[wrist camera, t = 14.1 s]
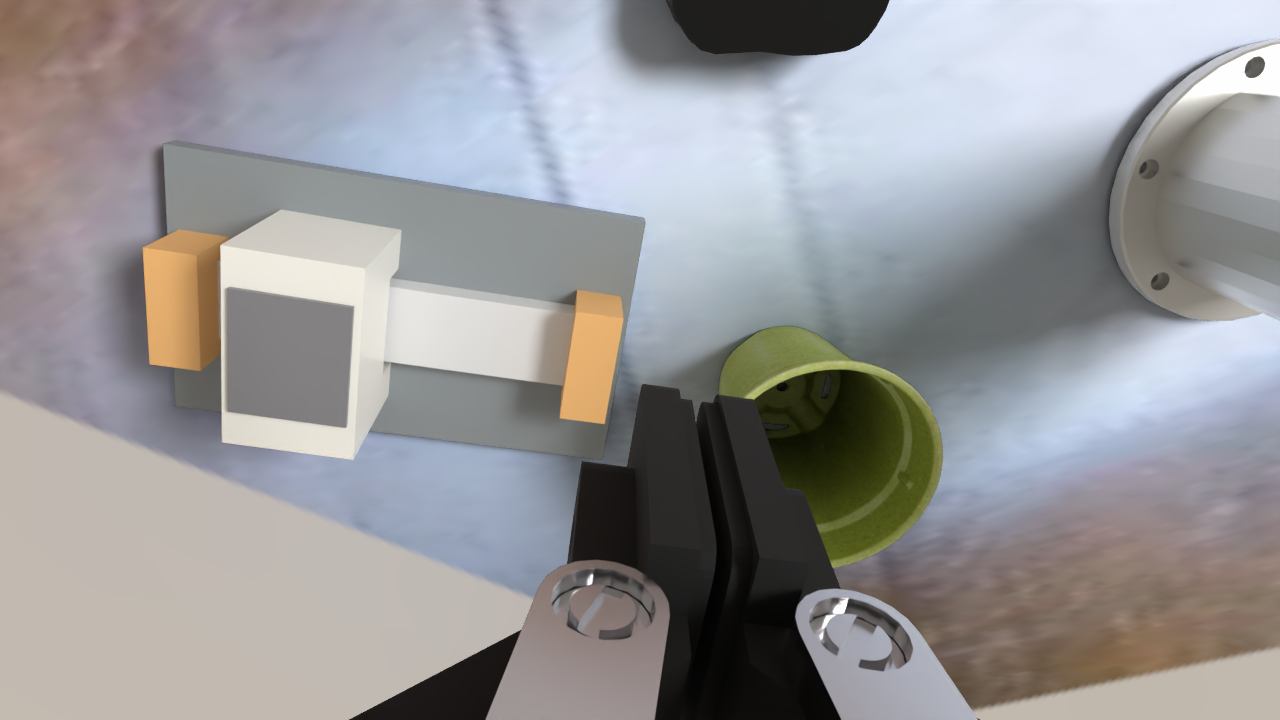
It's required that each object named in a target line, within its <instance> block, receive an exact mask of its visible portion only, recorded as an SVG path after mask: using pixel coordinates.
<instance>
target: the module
mask: <svg viewBox="0 0 1280 720" xmlns="http://www.w3.org/2000/svg"><path fill="white" fill-rule="evenodd" d="M400 243H401V230H400V229H394V228H388V227H382V226H376V225H370V224H364V223H358V222H352V221H347V220H341V219H335V218H329V217H323V216H317V215H311V214H305V213H299V212H294V211H288V210H282V209H281V210H279V211H278V212H276V213H274V214H273V215H271V216H269V217H267V218H266V219H264V220H262V221H261V222H259V223H257V224H256V225H254V226H252V227H250V228H249V229H247V230H245V231H244V232H242V233H240V234H239V235H237V236H235V237H233V238H232V239H230V240H228V241H227V242H225V243H223V244H221V245H220V255H221V394H222V442H223V443H230V444H238V445H245V446H253V447H260V448H268V449H275V450H283V451H291V452H298V453H306V454H313V455H321V456H328V457H336V458H343V459H351V460H353V459H354V457H355V455H356V454H357V452H358V450H359V448H360V446H361V445H362V443H363V441H364V439H365V437H366V435H367V434H368V432H369V430H370V428H371V426H372V424H373V423H374V421H375V419H376V417H377V415H378V413H379V412H380V410H381V408H382V406H383V404H384V402H385V401H386V399H387V397H388V393H389V380H390V368H391V362H385V361H384V352H385V338H386V325H387V312H388V299H389V286H390V278H391V277H392V276H393V275H394V273H395V272H396V271H397V270H398V268H399V255H400Z"/></svg>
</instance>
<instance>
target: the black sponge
mask: <svg viewBox="0 0 1280 720" xmlns="http://www.w3.org/2000/svg"><path fill="white" fill-rule="evenodd" d="M666 1H667V4H668V6H669V8H670V10H671V13H672V15H673V17H674V19H675V21H676V22H677V23H678V24H679V26H680V27H681V28H682V30H683V31H684V33H685V34H686V36H687V38H688V39H689V40H690V41H691V42H692V43H694V44H695V45H696V46H697V47H698V48H699V49H700V50H702V51H706V52H710V53H714V54H726V53H742V52H767V53H775V54H784V55H793V56H800V55H820V54H827V53H835V52H842V51H848V50H850V49H852V48H854V47H856V46H859V45H860V44H861V43H862V42H863V41H864V40H866V39H867V38H868V37H869V35H870V34H871V33H872V31H873V30H874V29H875V27H876V26H877V24H878V22H879V21H880V19H881V17H882V16H883V14H884V12H885V11H886V8H887V5H888V3H889V0H666Z"/></svg>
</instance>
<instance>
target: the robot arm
mask: <svg viewBox="0 0 1280 720" xmlns="http://www.w3.org/2000/svg"><path fill="white" fill-rule="evenodd" d="M1109 229H1110V237H1111V245H1112V248H1113V251H1114V254H1115V257H1116V260H1117V262H1118V265H1119V267H1120V269H1121V270H1122V272H1123V274H1124V275H1125V277H1126V278H1127V280H1128V281H1129V283H1130V284H1131V285H1132V286H1133V287H1134V288H1135V289H1136V290H1137V291H1138V292H1139V293H1141V294H1142V295H1143V296H1144V297H1145V298H1146V299H1148V300H1150V301H1151V302H1153V303H1155V304H1157V305H1159V306H1161V307H1162V308H1164V309H1166V310H1169V311H1171V312H1174V313H1176V314H1179V315H1181V316H1184V317H1186V318H1192V319H1198V320H1204V321H1229V320H1237V319H1242V318H1246V317H1251V316H1256V315H1259V314H1262V313H1263V314H1266V315H1268V316H1270V317H1273V318H1275V319H1277V320H1280V39H1272V40H1267V41H1263V42H1258V43H1254V44H1249V45H1245V46H1242V47H1240V48H1238V49H1235V50H1233V51H1230V52H1228V53H1225V54H1223V55H1221V56H1218V57H1216V58H1215V59H1213V60H1211V61H1210V62H1208V63H1207V64H1205V65H1203V66H1202V67H1200V68H1199V69H1197V70H1195V71H1194V72H1192V73H1191V74H1189V75H1188V76H1187V77H1186V78H1185V79H1183V80H1182V81H1181V82H1180V83H1179V84H1178V85H1176V86H1175V87H1174V88H1173V89H1172V90H1171V91H1169V92H1168V93H1167V94H1166V95H1165V96H1164V97H1163V99H1162V100H1161V101H1160V102H1159V103H1158V104H1157V105H1156V107H1155V108H1154V109H1153V110H1152V111H1151V112H1150V113H1149V115H1148V116H1147V117H1146V118H1145V120H1144V121H1143V123H1142V124H1141V126H1140V128H1139V129H1138V131H1137V132H1136V134H1135V135H1134V137H1133V138H1132V140H1131V142H1130V143H1129V145H1128V148H1127V150H1126V152H1125V154H1124V157H1123V159H1122V161H1121V163H1120V166H1119V168H1118V170H1117V174H1116V178H1115V182H1114V185H1113V189H1112V193H1111V198H1110V211H1109ZM350 720H980V719H978V718H977V717H976V716H975V714H974V713H973V711H972V710H971V708H970V707H969V705H968V704H967V702H966V701H965V699H964V698H963V696H962V695H961V693H960V692H959V691H958V689H957V688H956V686H955V685H954V683H953V682H952V680H951V679H950V677H949V676H948V674H947V673H946V671H945V670H944V668H943V667H942V665H941V664H940V662H939V661H938V659H937V658H936V656H935V655H934V653H933V652H932V650H931V649H930V647H929V646H928V644H927V643H926V641H925V640H924V639H923V637H922V636H921V634H920V633H919V631H918V630H917V629H916V628H915V627H914V626H913V625H912V623H911V622H910V621H909V620H908V619H907V618H906V617H905V616H903V615H902V614H901V613H899V612H898V611H897V610H895V609H894V608H893V607H891V606H889V605H887V604H886V603H884V602H882V601H880V600H878V599H876V598H874V597H871V596H868V595H865V594H862V593H859V592H856V591H850V590H843V589H840V586H839V583H838V581H837V578H836V575H835V573H834V570H833V567H832V565H831V562H830V560H829V557H828V554H827V552H826V549H825V546H824V544H823V541H822V539H821V536H820V533H819V531H818V528H817V525H816V523H815V520H814V518H813V515H812V512H811V510H810V507H809V504H808V502H807V499H806V497H805V495H804V493H803V491H801V490H798V489H791V488H784V485H783V482H782V479H781V477H780V474H779V471H778V468H777V465H776V462H775V459H774V456H773V453H772V450H771V447H770V444H769V441H768V439H767V436H766V433H765V430H764V427H763V424H762V421H761V418H760V415H759V412H758V409H757V406H756V403H755V401H754V400H753V399H747V398H740V397H733V396H725V395H716V397H715V399H714V402H713V403H707V402H702V403H701V405H700V408H699V412H698V417H697V422H696V421H695V415H694V409H693V404H692V400H685V399H681V398H680V391H679V389H675V388H667V387H660V386H653V385H646V384H643V385H642V387H641V392H640V396H639V402H638V408H637V413H636V419H635V425H634V430H633V436H632V442H631V448H630V453H629V459H628V465H627V467H622V466H614V465H607V464H599V463H591V462H583V461H582V464H581V470H580V476H579V483H578V489H577V496H576V503H575V510H574V516H573V524H572V531H571V538H570V546H569V554H568V562H567V565H564V566H560V567H559V568H557V569H556V570H554V571H553V572H551V573H550V574H548V575H547V576H546V577H545V579H544V580H543V582H542V583H541V585H540V586H539V588H538V590H537V593H536V595H535V598H534V600H533V603H532V605H531V608H530V610H529V613H528V615H527V618H526V620H525V623H524V625H523V628H522V630H520V631H518V632H516V633H514V634H512V635H510V636H508V637H507V638H505V639H503V640H501V641H499V642H497V643H495V644H493V645H491V646H489V647H487V648H486V649H484V650H482V651H480V652H478V653H476V654H474V655H472V656H470V657H468V658H467V659H464V660H463V661H461V662H459V663H457V664H455V665H453V666H452V667H449V668H447V669H445V670H443V671H442V672H440V673H438V674H436V675H434V676H432V677H430V678H428V679H426V680H424V681H422V682H420V683H418V684H417V685H415V686H413V687H411V688H409V689H407V690H405V691H403V692H401V693H399V694H397V695H396V696H394V697H392V698H390V699H388V700H386V701H384V702H382V703H380V704H378V705H377V706H374V707H373V708H371V709H369V710H367V711H365V712H363V713H361V714H359V715H357V716H355V717H353V718H352V719H350Z"/></svg>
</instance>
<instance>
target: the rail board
mask: <svg viewBox="0 0 1280 720" xmlns="http://www.w3.org/2000/svg"><path fill="white" fill-rule="evenodd" d="M163 154H164V175H165V196H166V217H167V236H165V237H163V238H161V239H159V240H157V241H155V242H153V243H151V244H149V245H147V246H145V247H143V261H144V278H145V295H146V312H147V328H148V345H149V362H150V364H151V365H158V366H166V367H174V387H175V406H177V407H185V408H193V409H201V410H209V411H217V412H222V394H221V255H220V245H221V244H223V243H225V242H227V241H228V240H230V239H232V238H233V237H235V236H237V235H239V234H240V233H242V232H244V231H245V230H247V229H249V228H250V227H252V226H254V225H256V224H257V223H259V222H261V221H262V220H264V219H266V218H267V217H269V216H271V215H273V214H274V213H276V212H278V211H279V210H281V209H282V210H288V211H294V212H299V213H305V214H311V215H317V216H323V217H329V218H335V219H341V220H347V221H352V222H358V223H364V224H370V225H376V226H382V227H388V228H394V229H400V230H401V243H400V255H399V268H398V270H397V271H396V272H395V273H394V275H393V276H392V277H391V278H390V286H389V299H388V312H387V325H386V338H385V352H384V361H385V362H391V368H390V380H389V393H388V397H387V399H386V401H385V402H384V404H383V406H382V408H381V410H380V412H379V413H378V415H377V417H376V419H375V421H374V423H373V424H372V426H371V428H370V430H369V431H376V432H384V433H392V434H400V435H408V436H416V437H424V438H431V439H439V440H447V441H455V442H463V443H471V444H479V445H487V446H495V447H503V448H511V449H519V450H527V451H535V452H543V453H551V454H559V455H567V456H575V457H583V458H591V459H598V460H602V458H603V453H604V447H605V442H606V436H607V431H608V425H609V420H610V414H611V409H612V404H613V398H614V393H615V387H616V382H617V376H618V371H619V365H620V360H621V354H622V349H623V343H624V338H625V332H626V327H627V321H628V316H629V310H630V305H631V299H632V294H633V288H634V283H635V278H636V272H637V267H638V261H639V256H640V250H641V245H642V239H643V234H644V228H645V219H644V218H642V217H636V216H630V215H624V214H618V213H612V212H606V211H600V210H594V209H587V208H581V207H575V206H569V205H563V204H557V203H551V202H545V201H539V200H533V199H527V198H521V197H515V196H508V195H502V194H496V193H490V192H484V191H478V190H472V189H466V188H460V187H454V186H448V185H442V184H436V183H429V182H423V181H417V180H411V179H405V178H399V177H393V176H387V175H381V174H375V173H369V172H363V171H357V170H350V169H344V168H338V167H332V166H326V165H320V164H314V163H308V162H302V161H296V160H290V159H284V158H278V157H271V156H265V155H259V154H253V153H247V152H241V151H235V150H229V149H223V148H217V147H211V146H205V145H199V144H192V143H186V142H180V141H172V142H168V143H164V144H163Z"/></svg>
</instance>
